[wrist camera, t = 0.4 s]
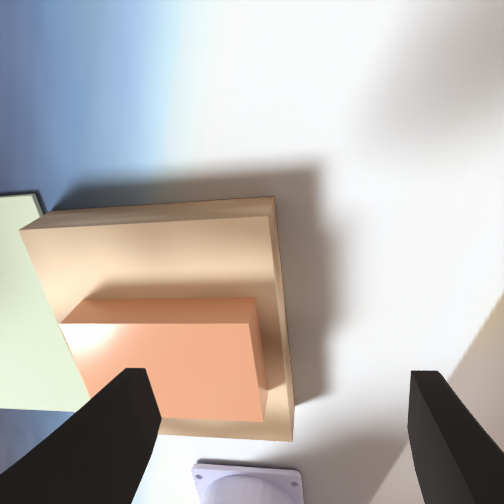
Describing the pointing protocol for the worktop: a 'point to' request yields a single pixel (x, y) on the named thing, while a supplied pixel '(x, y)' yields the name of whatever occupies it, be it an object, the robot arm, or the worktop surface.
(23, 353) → the mat
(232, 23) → the worktop surface
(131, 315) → the tile
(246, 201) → the wooden board
